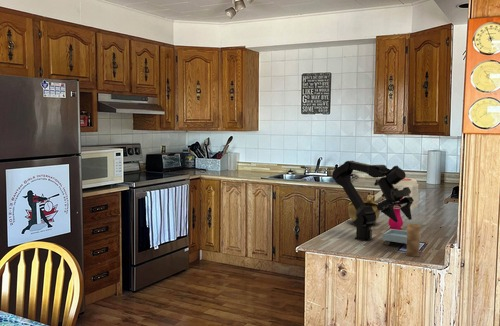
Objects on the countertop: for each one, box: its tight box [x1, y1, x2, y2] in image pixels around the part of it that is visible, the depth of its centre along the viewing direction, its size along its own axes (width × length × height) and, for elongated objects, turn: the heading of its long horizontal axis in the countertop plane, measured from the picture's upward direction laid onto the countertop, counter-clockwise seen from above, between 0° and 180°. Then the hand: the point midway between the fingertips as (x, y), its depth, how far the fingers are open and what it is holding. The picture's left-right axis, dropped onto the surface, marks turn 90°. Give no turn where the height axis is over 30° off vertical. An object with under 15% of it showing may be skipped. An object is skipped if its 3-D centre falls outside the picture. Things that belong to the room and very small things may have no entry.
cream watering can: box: [374, 177, 420, 211], centre depth 316 cm, size 19×30×18 cm, turn 56°
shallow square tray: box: [381, 229, 422, 248], centre depth 222 cm, size 14×12×5 cm
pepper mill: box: [387, 199, 404, 231], centre depth 247 cm, size 7×7×20 cm
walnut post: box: [405, 223, 421, 258], centre depth 205 cm, size 5×5×13 cm
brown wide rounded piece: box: [347, 194, 381, 222], centre depth 264 cm, size 22×17×15 cm
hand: (403, 220), depth 212 cm, fingers open, 9 cm apart
